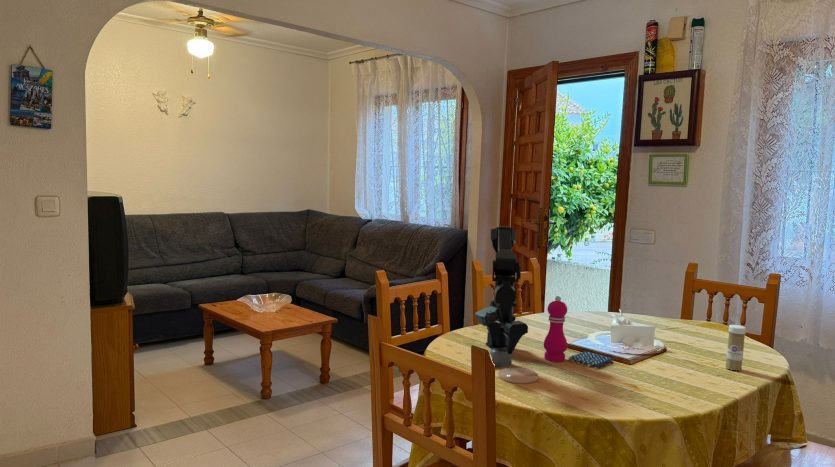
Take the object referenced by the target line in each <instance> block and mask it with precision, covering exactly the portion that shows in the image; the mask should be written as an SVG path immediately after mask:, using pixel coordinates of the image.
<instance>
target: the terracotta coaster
mask: <svg viewBox="0 0 835 467" xmlns="http://www.w3.org/2000/svg"><path fill="white" fill-rule="evenodd" d="M498 378H500V379H501V380H503V381H505V382H508V383H512V384H520V385H526V384H533V383H536V382H537V381H538V379H539V374H538V373H537V372H535V371H533V370H530V369H528V368H522V367H505V368H502V369H500V370H499V371H498Z"/></svg>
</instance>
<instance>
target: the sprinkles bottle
mask: <svg viewBox="0 0 835 467" xmlns="http://www.w3.org/2000/svg"><path fill="white" fill-rule="evenodd" d="M746 333H747V328H746V326H743V325H739V324H730V325H728V340H727V349H726V362H725V367H726V368H727V370H728V369H730V370H729V371H732V370H741V371H743V369H742V366H743V358H744V350H745V348H744V347H745V338H746V337H745V336H746Z"/></svg>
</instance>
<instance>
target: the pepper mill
mask: <svg viewBox="0 0 835 467" xmlns="http://www.w3.org/2000/svg"><path fill="white" fill-rule="evenodd" d="M561 300H562V298H561V296H559V295H557V296H555V298H554V300H553V301H551V302H550V303H548V306H547V313H548V314H549V316H548V321H549V329H548V332H547V334H546V336H545V338H544V340H543V348H544V350H545V351H544V356H543V358H544V360H546V361H549V362H554V363H562V362H564V361H565V360H566V353H564V352H566V351H567V349H568V342H567V338H566V336H565V332H564V323H565V322H566V315H567V313H568V307H567V304H566V303H565V302H563V301H561Z"/></svg>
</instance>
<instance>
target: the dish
mask: <svg viewBox="0 0 835 467" xmlns="http://www.w3.org/2000/svg"><path fill="white" fill-rule="evenodd" d="M618 310H619V313H620V314H619V315H620V317H618V316H617V315H616V314H614V312H612V313H611V314H610V315H611V316H612V318H613V319H612V322H611V324H610V330H603V331H595V332H592V333H590V334H588V337H587V341H588V340H590V341H591V342H593V343H595V344H599V345H600V344H602V343H600V342H598V341H597V340H596V339H595V338H596V337H597V336H601V335H607V336H610V343H623V344H619V346H621V347H624V348H629V347H630V346H632V347H634V348H639V349H640V348H645V346H647V345H652V346H656V347H658V348H660V349H659V350H661V349H665V344H664V343H663V342H662V341H661V340H659V339H656V338H655V337H656V336H655V334H656V326H654V325H649V324H644V323H639V322H635V321H631V319H629V318H628V317H626V316H623V312H622V311H621V309H620V308H619V309H618ZM624 344H625V345H624ZM602 345H604V344H602ZM607 347H611V348H612V346H607ZM613 348H617V347H613ZM659 350H657V351H659Z"/></svg>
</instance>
